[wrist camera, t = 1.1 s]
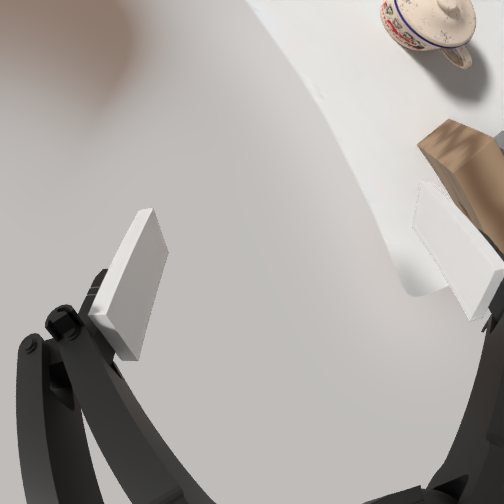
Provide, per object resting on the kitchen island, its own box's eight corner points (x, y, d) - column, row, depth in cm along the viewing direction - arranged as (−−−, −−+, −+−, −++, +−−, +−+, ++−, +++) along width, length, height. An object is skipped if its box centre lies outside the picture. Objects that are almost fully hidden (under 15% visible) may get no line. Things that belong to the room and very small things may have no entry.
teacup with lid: (362, 8, 25) (380, -19, 15) (411, -22, 20) (443, -52, 11) (425, 84, 28) (466, 90, 18) (471, 53, 24) (520, 51, 14)
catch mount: (448, 118, 29) (494, 138, 19) (501, 218, 34) (540, 262, 24) (416, 144, 32) (453, 173, 22) (474, 240, 37) (507, 289, 27)
